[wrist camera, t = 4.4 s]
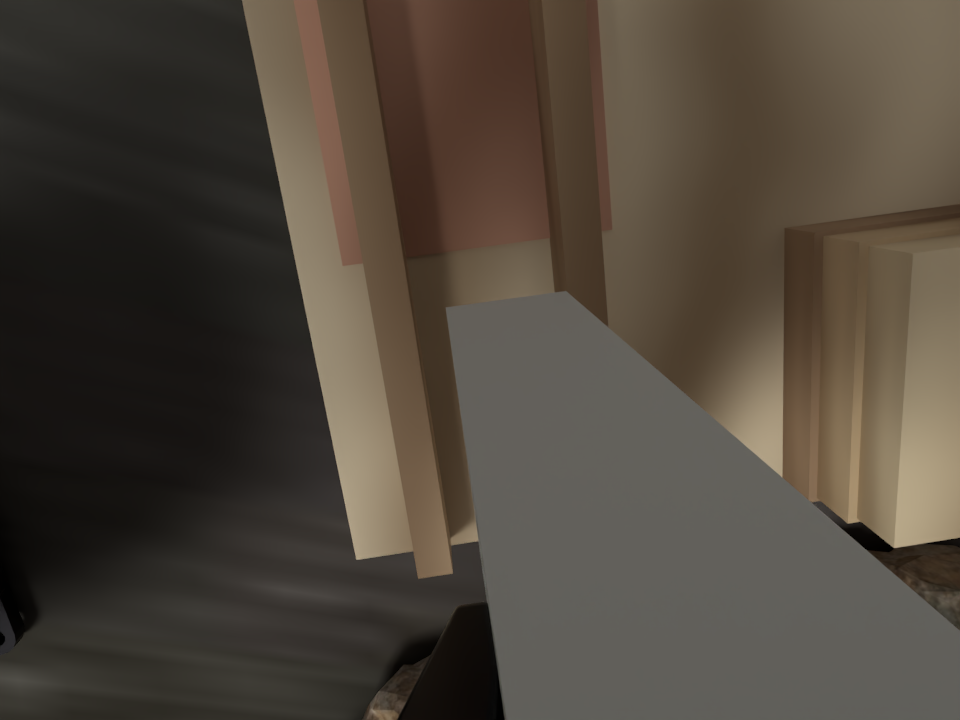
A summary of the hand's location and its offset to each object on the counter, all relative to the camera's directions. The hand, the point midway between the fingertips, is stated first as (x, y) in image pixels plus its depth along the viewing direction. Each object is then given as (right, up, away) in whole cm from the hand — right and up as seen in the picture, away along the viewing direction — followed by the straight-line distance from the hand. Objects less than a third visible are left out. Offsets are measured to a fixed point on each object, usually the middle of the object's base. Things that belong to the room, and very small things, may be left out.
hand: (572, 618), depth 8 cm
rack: (+4, +6, +7) cm, 11 cm away
